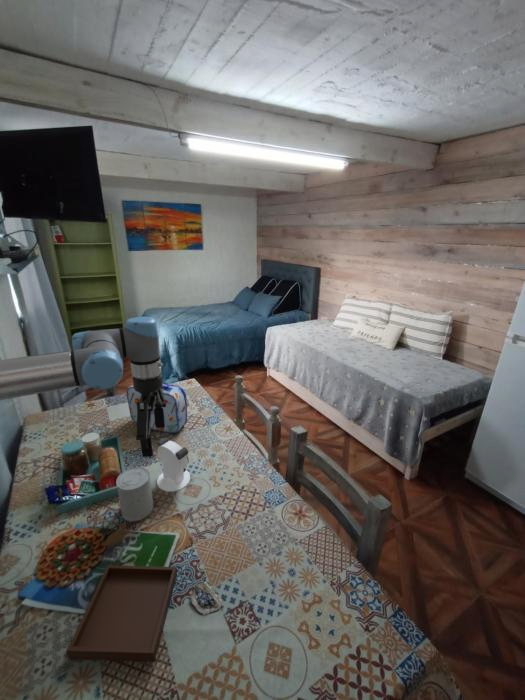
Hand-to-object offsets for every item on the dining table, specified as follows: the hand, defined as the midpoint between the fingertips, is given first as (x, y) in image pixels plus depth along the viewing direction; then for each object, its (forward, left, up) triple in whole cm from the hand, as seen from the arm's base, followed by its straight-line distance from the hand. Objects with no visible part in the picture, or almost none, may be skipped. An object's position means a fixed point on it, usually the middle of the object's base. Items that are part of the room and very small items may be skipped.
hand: (154, 440), depth 92 cm
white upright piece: (-7, +9, -26) cm, 28 cm away
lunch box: (-40, +24, -26) cm, 53 cm away
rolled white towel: (-5, -6, -26) cm, 27 cm away
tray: (+21, -22, -26) cm, 39 cm away
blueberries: (+32, -8, -26) cm, 42 cm away
